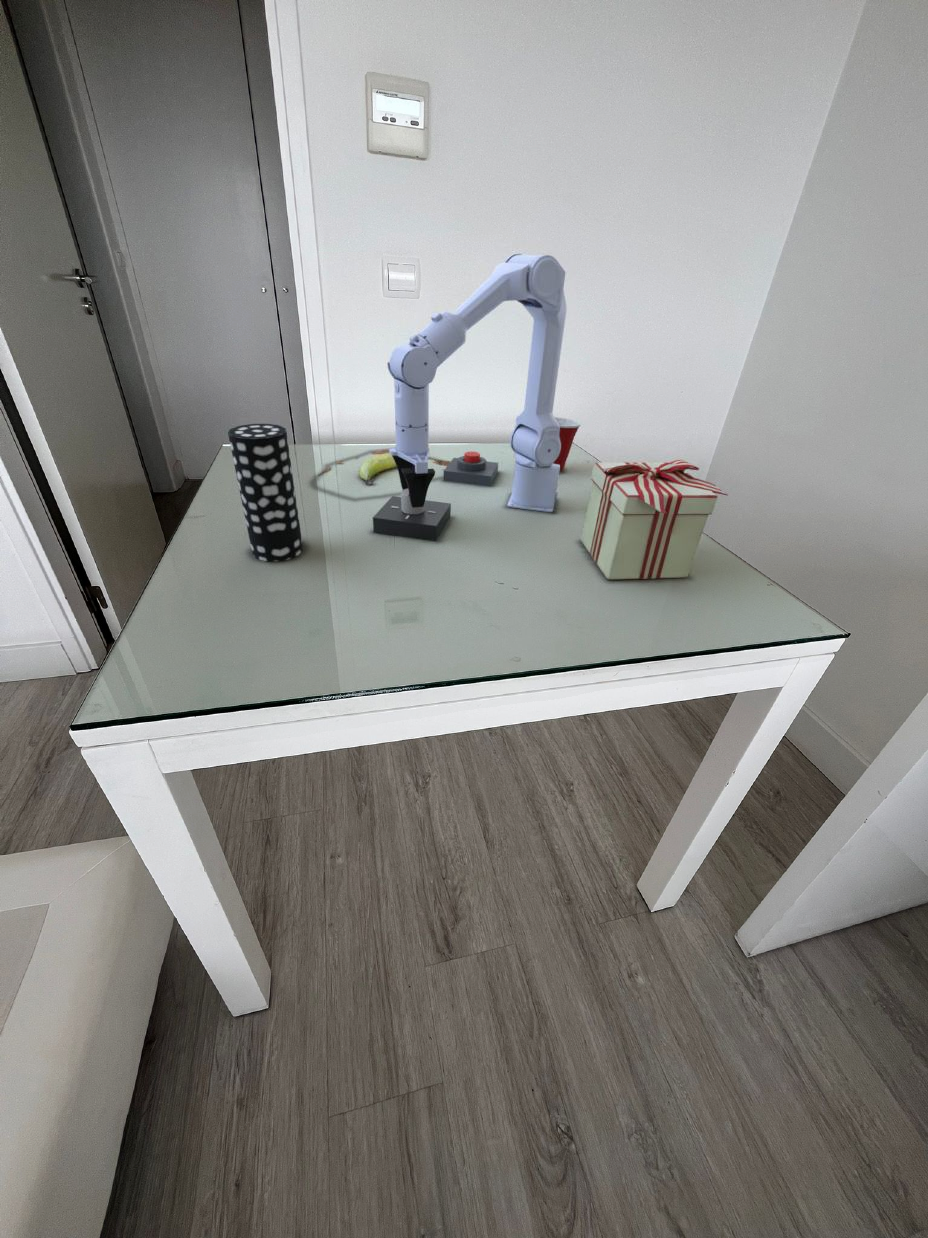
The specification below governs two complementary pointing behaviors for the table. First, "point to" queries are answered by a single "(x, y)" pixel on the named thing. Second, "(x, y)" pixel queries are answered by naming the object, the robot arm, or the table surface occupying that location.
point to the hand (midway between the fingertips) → (412, 498)
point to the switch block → (471, 472)
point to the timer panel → (412, 520)
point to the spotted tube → (267, 490)
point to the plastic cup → (565, 439)
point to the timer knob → (409, 504)
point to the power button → (472, 457)
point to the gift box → (646, 518)
